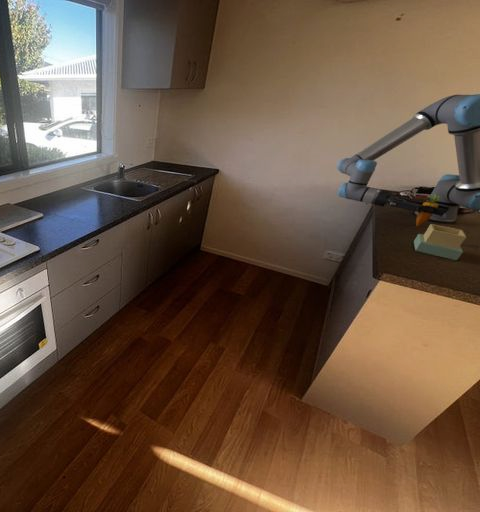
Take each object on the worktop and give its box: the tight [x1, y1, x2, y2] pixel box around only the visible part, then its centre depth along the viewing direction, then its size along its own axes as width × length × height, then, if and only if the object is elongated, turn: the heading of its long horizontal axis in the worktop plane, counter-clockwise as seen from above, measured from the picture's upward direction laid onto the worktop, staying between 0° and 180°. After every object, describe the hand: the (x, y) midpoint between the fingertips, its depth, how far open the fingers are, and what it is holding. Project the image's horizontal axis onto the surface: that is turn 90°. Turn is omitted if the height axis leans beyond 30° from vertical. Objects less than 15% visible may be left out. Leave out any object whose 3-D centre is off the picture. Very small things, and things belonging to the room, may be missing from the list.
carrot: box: [415, 194, 440, 227], centre depth 128 cm, size 5×5×15 cm
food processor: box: [413, 223, 467, 261], centre depth 120 cm, size 13×12×10 cm
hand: (445, 211), depth 124 cm, fingers closed on carrot, 5 cm apart
